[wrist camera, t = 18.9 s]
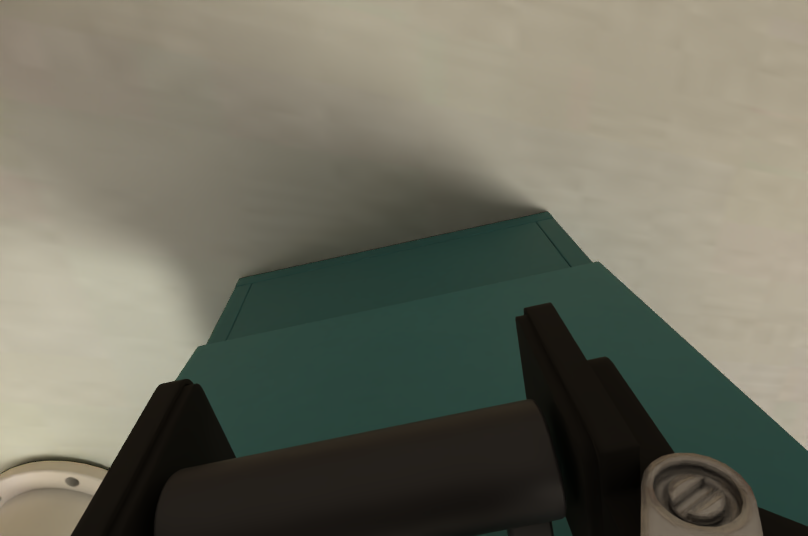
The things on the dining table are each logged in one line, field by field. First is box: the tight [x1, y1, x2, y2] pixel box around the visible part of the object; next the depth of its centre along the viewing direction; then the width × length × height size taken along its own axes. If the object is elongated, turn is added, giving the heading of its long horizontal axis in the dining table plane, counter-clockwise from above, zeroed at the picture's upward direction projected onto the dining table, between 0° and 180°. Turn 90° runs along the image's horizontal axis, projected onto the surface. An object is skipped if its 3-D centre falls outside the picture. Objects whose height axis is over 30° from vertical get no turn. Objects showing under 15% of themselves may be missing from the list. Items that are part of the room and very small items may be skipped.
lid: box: [154, 262, 808, 536], centre depth 14 cm, size 17×18×5 cm
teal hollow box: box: [206, 212, 593, 345], centre depth 30 cm, size 16×18×7 cm
